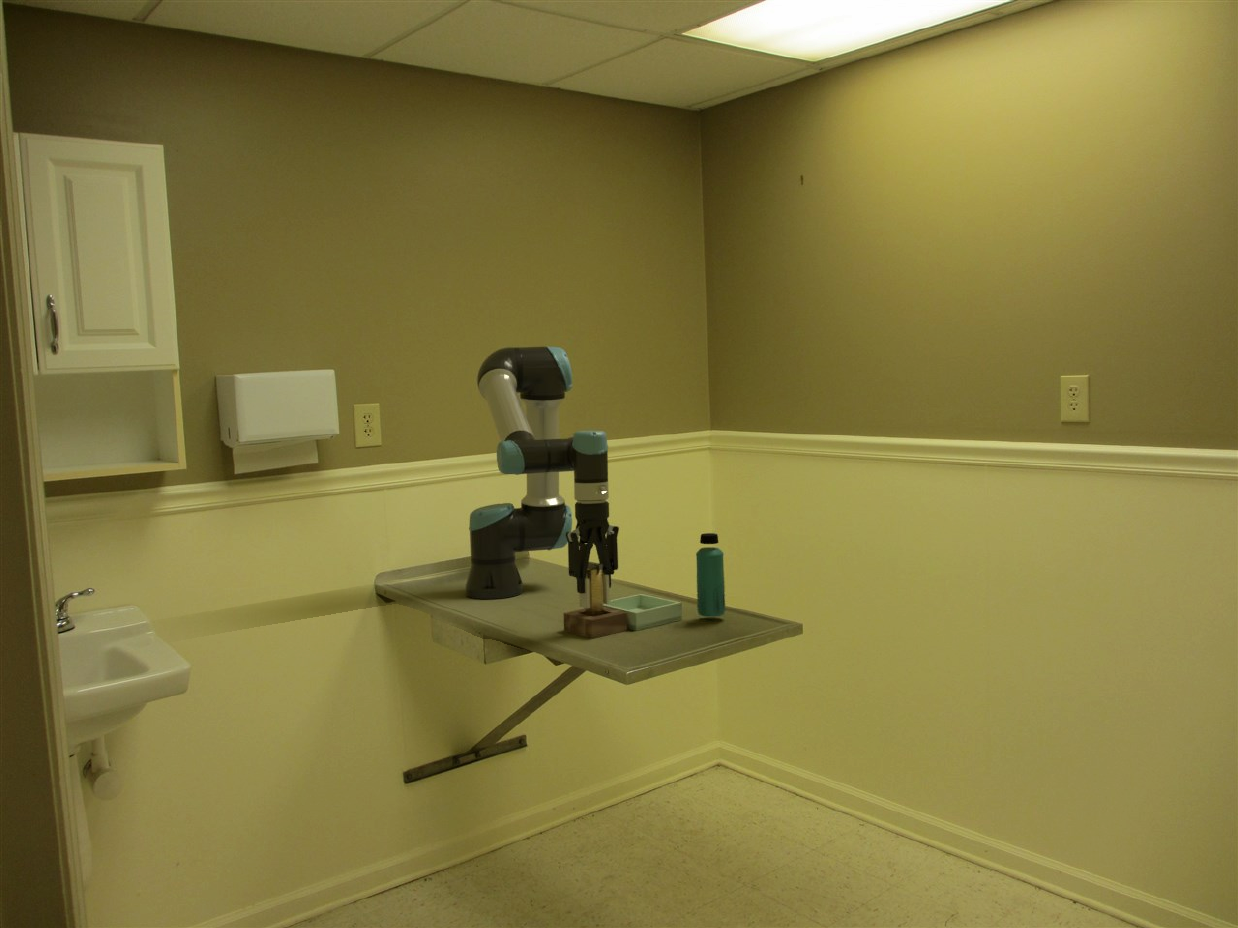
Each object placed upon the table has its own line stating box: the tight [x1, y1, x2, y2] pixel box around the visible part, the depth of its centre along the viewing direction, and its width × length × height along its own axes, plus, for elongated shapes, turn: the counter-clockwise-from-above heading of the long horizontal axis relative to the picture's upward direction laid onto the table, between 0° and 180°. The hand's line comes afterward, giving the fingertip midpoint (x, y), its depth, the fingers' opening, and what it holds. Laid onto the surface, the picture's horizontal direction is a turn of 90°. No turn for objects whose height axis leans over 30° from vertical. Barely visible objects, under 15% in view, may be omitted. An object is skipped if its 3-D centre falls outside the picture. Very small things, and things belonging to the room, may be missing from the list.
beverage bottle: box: [695, 532, 727, 618], centre depth 228 cm, size 6×7×20 cm
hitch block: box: [563, 607, 628, 639], centre depth 222 cm, size 10×10×4 cm
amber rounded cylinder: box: [586, 561, 604, 617], centre depth 221 cm, size 5×4×15 cm
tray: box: [604, 593, 683, 632], centre depth 230 cm, size 14×14×4 cm
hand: (594, 604), depth 221 cm, fingers open, 5 cm apart
